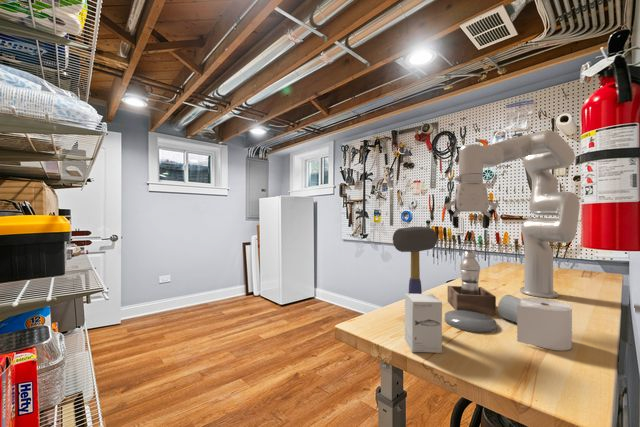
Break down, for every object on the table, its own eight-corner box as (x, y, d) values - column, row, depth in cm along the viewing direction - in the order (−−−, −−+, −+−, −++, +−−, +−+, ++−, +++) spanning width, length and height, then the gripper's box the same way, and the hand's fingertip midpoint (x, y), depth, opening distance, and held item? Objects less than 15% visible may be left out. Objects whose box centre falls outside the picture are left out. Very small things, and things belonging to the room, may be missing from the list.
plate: (440, 313, 94) (439, 309, 94) (485, 316, 91) (485, 311, 91) (451, 330, 80) (451, 325, 80) (505, 334, 77) (505, 329, 77)
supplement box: (411, 353, 67) (411, 301, 67) (404, 339, 75) (404, 292, 75) (442, 354, 67) (442, 301, 67) (432, 339, 74) (432, 292, 74)
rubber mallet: (409, 336, 76) (409, 227, 76) (390, 326, 83) (390, 226, 83) (439, 327, 82) (439, 226, 82) (419, 318, 89) (419, 225, 89)
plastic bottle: (463, 310, 96) (463, 253, 96) (457, 304, 103) (457, 250, 103) (483, 311, 95) (483, 253, 95) (475, 304, 102) (475, 250, 102)
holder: (447, 301, 106) (447, 285, 106) (481, 303, 104) (481, 287, 104) (457, 312, 95) (457, 294, 94) (495, 314, 92) (495, 296, 92)
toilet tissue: (574, 341, 73) (574, 303, 73) (568, 358, 65) (568, 315, 65) (525, 329, 81) (525, 295, 81) (514, 342, 73) (514, 304, 73)
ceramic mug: (523, 329, 81) (523, 303, 81) (497, 319, 88) (497, 295, 88) (547, 325, 84) (547, 299, 84) (520, 315, 92) (520, 292, 92)
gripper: (447, 179, 97) (447, 228, 97) (502, 178, 94) (502, 228, 94) (442, 181, 104) (442, 227, 104) (492, 181, 101) (492, 227, 101)
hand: (470, 228), depth 99 cm, fingers open, 9 cm apart
